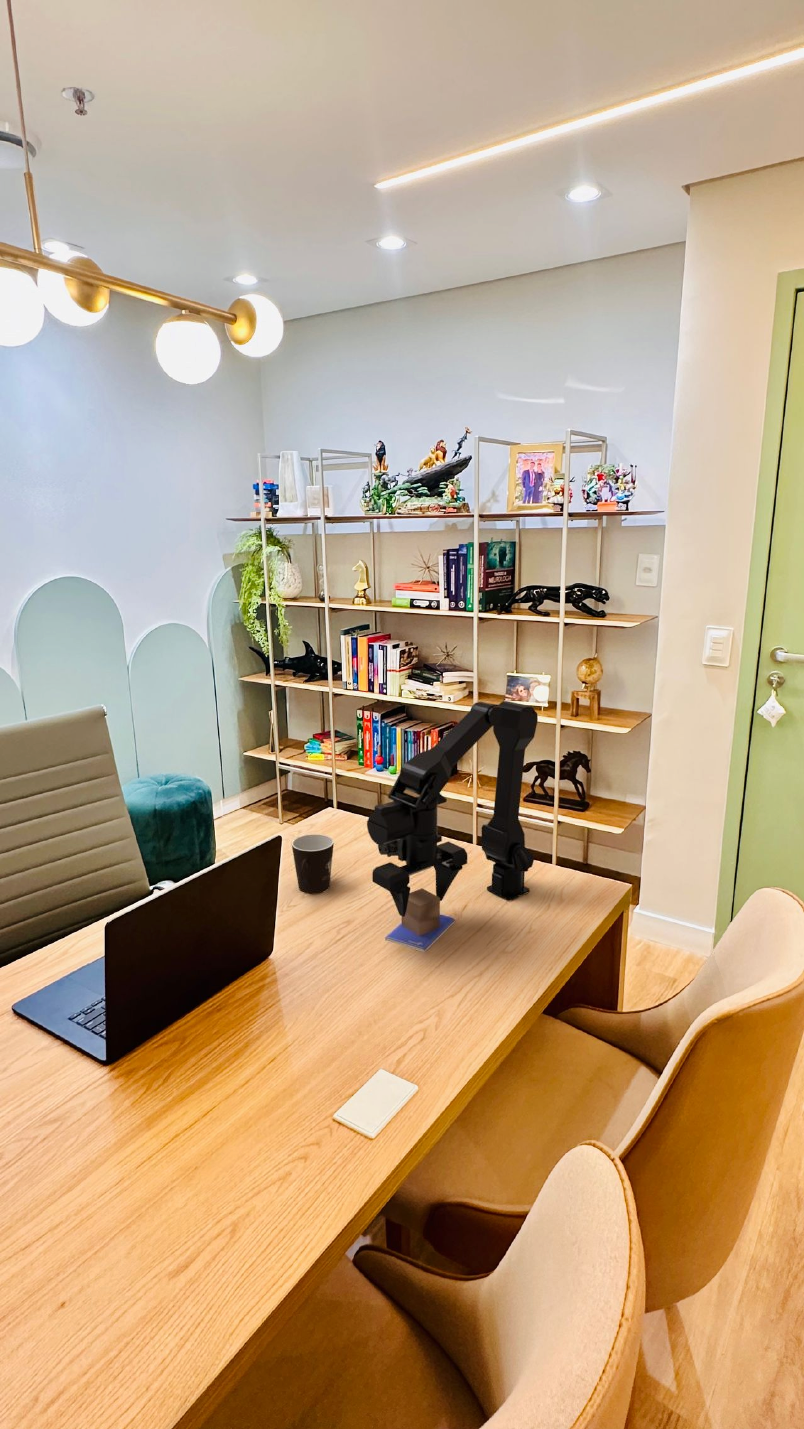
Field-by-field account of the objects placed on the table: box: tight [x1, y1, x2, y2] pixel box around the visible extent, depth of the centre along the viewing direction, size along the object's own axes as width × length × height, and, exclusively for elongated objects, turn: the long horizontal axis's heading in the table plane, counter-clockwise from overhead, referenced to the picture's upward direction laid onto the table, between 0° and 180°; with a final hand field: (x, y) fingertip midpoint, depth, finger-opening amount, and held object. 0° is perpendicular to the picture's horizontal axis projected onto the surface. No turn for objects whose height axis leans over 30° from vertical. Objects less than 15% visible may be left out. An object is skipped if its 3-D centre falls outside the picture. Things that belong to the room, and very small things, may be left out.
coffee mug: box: [291, 833, 335, 895], centre depth 159 cm, size 12×9×10 cm
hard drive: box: [384, 913, 456, 953], centre depth 145 cm, size 2×8×12 cm
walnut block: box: [401, 887, 441, 936], centre depth 144 cm, size 5×5×6 cm
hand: (421, 907), depth 144 cm, fingers open, 9 cm apart
